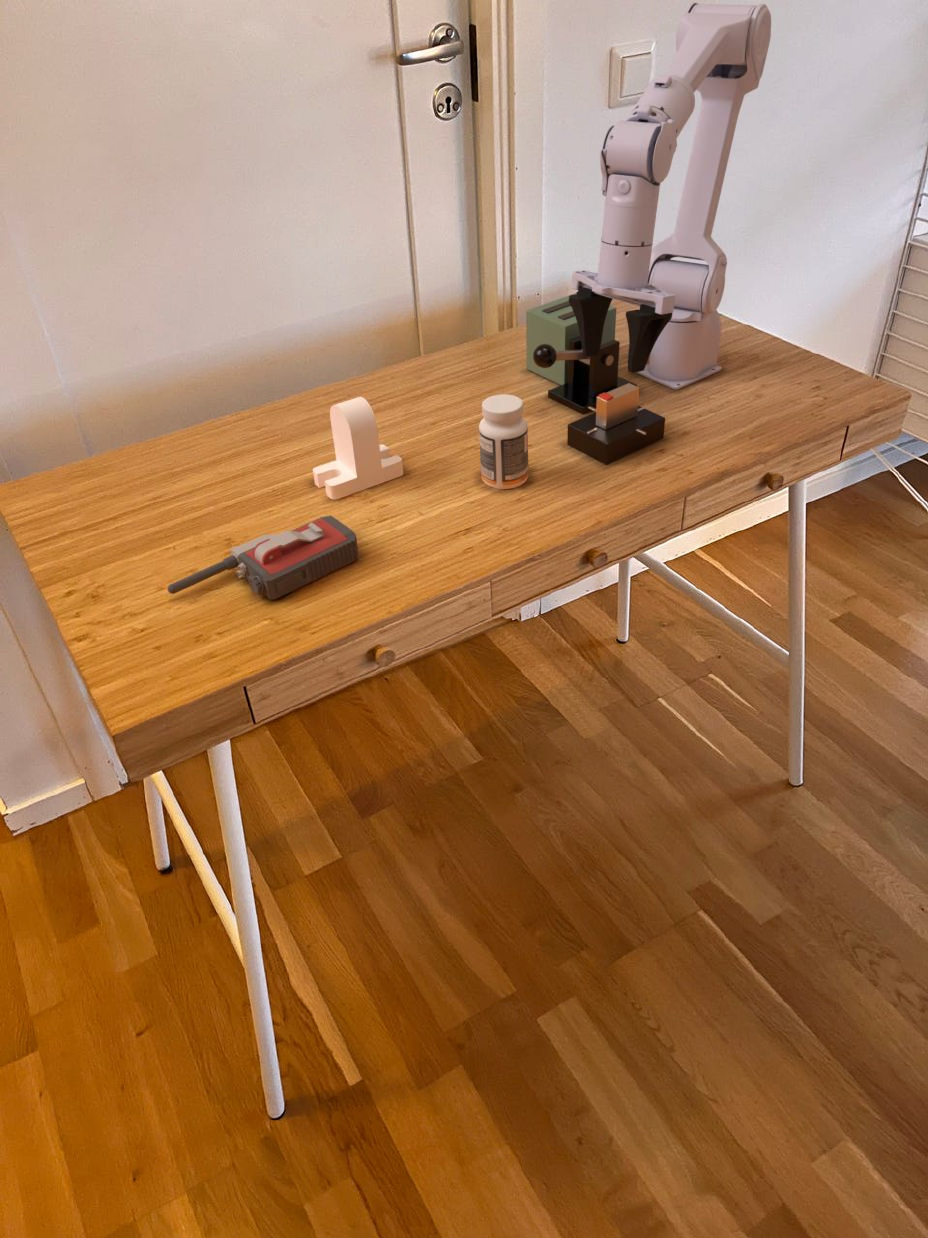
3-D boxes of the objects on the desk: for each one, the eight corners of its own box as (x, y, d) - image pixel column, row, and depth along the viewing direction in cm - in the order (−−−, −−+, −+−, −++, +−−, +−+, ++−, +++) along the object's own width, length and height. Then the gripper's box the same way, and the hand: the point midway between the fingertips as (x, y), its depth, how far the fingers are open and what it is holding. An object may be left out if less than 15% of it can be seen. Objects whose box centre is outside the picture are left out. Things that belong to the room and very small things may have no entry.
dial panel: (616, 416, 126) (617, 394, 124) (671, 443, 120) (674, 420, 118) (559, 441, 121) (560, 419, 119) (614, 470, 115) (615, 447, 113)
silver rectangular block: (627, 410, 121) (629, 380, 118) (637, 415, 119) (639, 385, 117) (595, 424, 118) (596, 394, 115) (605, 430, 117) (607, 399, 114)
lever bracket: (583, 415, 127) (584, 359, 122) (547, 398, 131) (548, 343, 126) (636, 392, 131) (640, 337, 126) (600, 376, 136) (603, 322, 131)
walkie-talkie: (327, 523, 109) (166, 596, 100) (322, 489, 106) (155, 561, 97) (372, 555, 104) (206, 636, 94) (367, 521, 101) (196, 600, 91)
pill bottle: (529, 467, 117) (529, 391, 111) (527, 491, 112) (526, 414, 106) (483, 466, 117) (480, 391, 111) (478, 491, 113) (475, 414, 107)
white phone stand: (405, 474, 117) (397, 398, 111) (333, 500, 113) (321, 423, 107) (383, 457, 120) (375, 383, 114) (313, 482, 116) (300, 406, 110)
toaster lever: (541, 371, 121) (546, 347, 119) (526, 364, 123) (530, 340, 121) (606, 367, 128) (611, 345, 126) (590, 361, 130) (595, 338, 128)
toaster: (575, 352, 142) (576, 291, 137) (613, 369, 137) (616, 306, 131) (526, 371, 138) (526, 308, 132) (564, 389, 133) (565, 325, 127)
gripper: (556, 234, 110) (547, 352, 117) (650, 256, 100) (633, 384, 107) (600, 229, 114) (589, 344, 121) (694, 250, 104) (676, 374, 111)
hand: (612, 362), depth 114 cm, fingers open, 7 cm apart
